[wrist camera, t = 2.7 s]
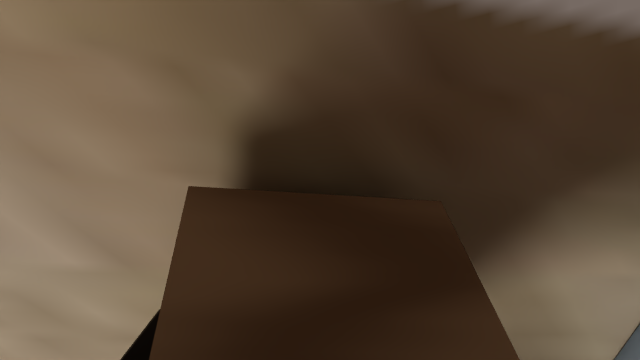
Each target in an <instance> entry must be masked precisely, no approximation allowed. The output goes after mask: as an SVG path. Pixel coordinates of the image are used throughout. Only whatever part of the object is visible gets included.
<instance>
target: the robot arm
mask: <svg viewBox="0 0 640 360" xmlns="http://www.w3.org/2000/svg"><path fill="white" fill-rule="evenodd" d="M159 314H160V310H159V311H158V312H157V313H156V314H155V316H154V317H153V318H152V320H151V321H150V322H149V323H148V325H147V326H146V327H145V329H144V330H143V331H142V332H141V334H140V335H139V336H138V338H137V339H136V340H135V341H134V343H133V344H132V345H131V347H130V348H129V349H128V351H127V352H126V353H125V354H124V356H123V357H122V358H121V360H149V357H150V353H151V349H152V344H153V340H154V335H155V331H156V327H157V322H158V318H159Z"/></svg>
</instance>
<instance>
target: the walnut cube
mask: <svg viewBox="0 0 640 360" xmlns="http://www.w3.org/2000/svg"><path fill="white" fill-rule="evenodd" d="M149 360H519V358H518V356H517V354H516V352H515V350H514V348H513V346H512V344H511V342H510V340H509V338H508V336H507V334H506V332H505V330H504V328H503V326H502V324H501V322H500V320H499V318H498V316H497V313H496V311H495V309H494V307H493V305H492V303H491V301H490V299H489V297H488V295H487V293H486V291H485V289H484V287H483V285H482V283H481V281H480V279H479V277H478V275H477V273H476V271H475V269H474V267H473V265H472V263H471V261H470V259H469V257H468V255H467V253H466V251H465V249H464V247H463V245H462V243H461V241H460V239H459V237H458V235H457V233H456V231H455V229H454V227H453V225H452V223H451V221H450V219H449V217H448V215H447V213H446V211H445V209H444V207H443V205H442V203H441V201H429V200H412V199H395V198H378V197H361V196H344V195H328V194H311V193H294V192H277V191H260V190H243V189H227V188H210V187H193V186H189V187H188V191H187V195H186V200H185V204H184V208H183V213H182V217H181V222H180V226H179V230H178V235H177V239H176V244H175V248H174V252H173V257H172V261H171V265H170V270H169V274H168V279H167V283H166V287H165V292H164V296H163V300H162V305H161V309H160V314H159V318H158V322H157V327H156V331H155V335H154V340H153V344H152V349H151V353H150V357H149Z"/></svg>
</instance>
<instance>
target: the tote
mask: <svg viewBox="0 0 640 360" xmlns="http://www.w3.org/2000/svg"><path fill="white" fill-rule="evenodd" d="M615 360H640V325H639V326H638V327H637V329H636V330H635V332H634V333H633V334H632V336H631V337H630V339H629V340H628V341H627V343H626V344H625V346H624V347H623V348H622V350H621V351H620V353H619V354H618V355H617V357H616V358H615Z"/></svg>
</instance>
